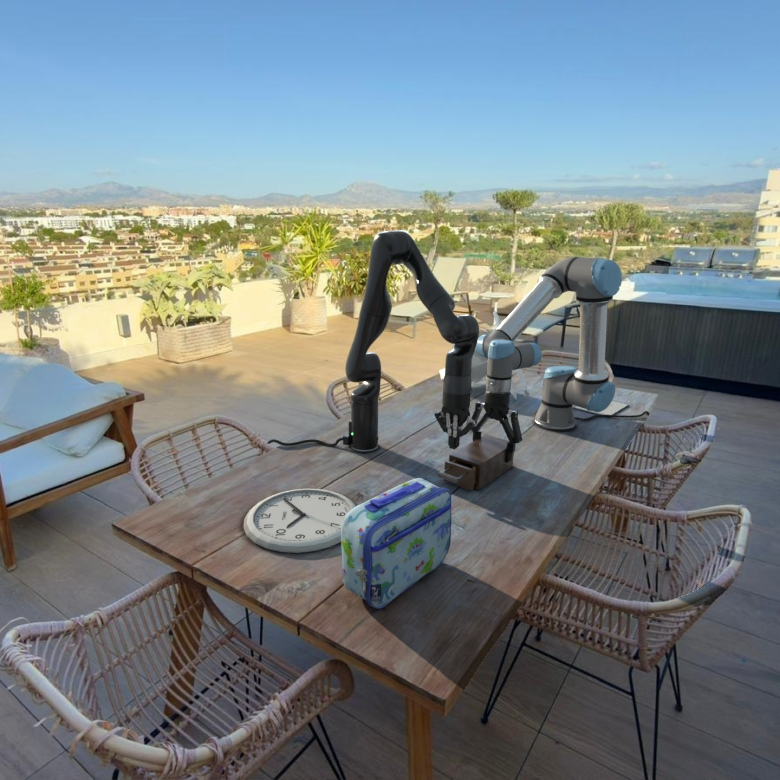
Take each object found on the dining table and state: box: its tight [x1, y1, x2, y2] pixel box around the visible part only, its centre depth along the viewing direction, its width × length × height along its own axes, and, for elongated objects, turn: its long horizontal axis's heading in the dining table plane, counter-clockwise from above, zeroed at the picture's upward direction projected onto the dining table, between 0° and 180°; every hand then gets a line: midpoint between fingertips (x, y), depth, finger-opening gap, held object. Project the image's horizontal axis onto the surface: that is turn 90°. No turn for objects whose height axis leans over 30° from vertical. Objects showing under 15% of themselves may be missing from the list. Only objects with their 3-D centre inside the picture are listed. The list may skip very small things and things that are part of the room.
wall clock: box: [243, 488, 357, 554], centre depth 136 cm, size 30×2×30 cm
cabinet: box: [448, 433, 515, 491], centre depth 162 cm, size 22×11×8 cm, turn 140°
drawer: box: [436, 459, 477, 491], centre depth 157 cm, size 26×10×6 cm, turn 140°
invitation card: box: [573, 400, 629, 415], centre depth 226 cm, size 21×1×15 cm
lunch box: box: [340, 477, 452, 610], centre depth 110 cm, size 26×11×21 cm, turn 134°
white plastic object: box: [438, 310, 531, 400], centre depth 245 cm, size 37×45×31 cm
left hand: (453, 447), depth 147 cm, fingers closed
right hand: (492, 456), depth 167 cm, fingers closed on cabinet, 11 cm apart
